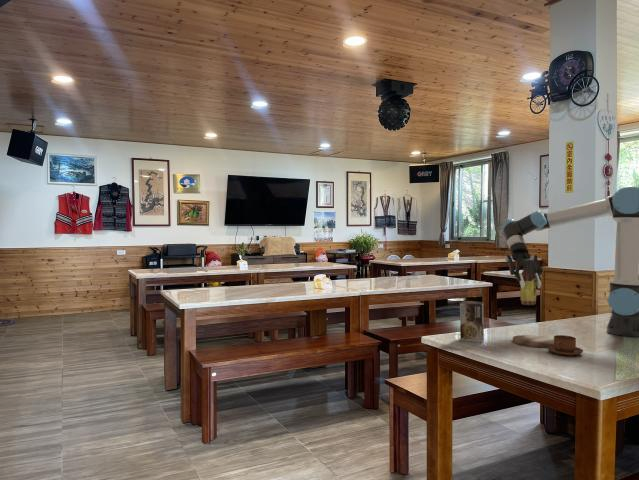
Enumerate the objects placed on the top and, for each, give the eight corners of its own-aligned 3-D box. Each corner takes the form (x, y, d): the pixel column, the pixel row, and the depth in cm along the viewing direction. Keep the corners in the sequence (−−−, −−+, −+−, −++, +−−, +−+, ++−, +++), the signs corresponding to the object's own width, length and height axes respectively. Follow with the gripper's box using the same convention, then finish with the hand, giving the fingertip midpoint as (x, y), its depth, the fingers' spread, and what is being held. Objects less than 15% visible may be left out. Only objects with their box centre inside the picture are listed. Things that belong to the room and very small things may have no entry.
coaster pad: (561, 342, 192) (561, 339, 192) (546, 349, 181) (546, 345, 181) (522, 336, 204) (522, 333, 204) (506, 342, 192) (506, 339, 192)
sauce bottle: (537, 305, 203) (537, 260, 202) (521, 305, 204) (522, 260, 204) (534, 303, 209) (534, 259, 208) (519, 302, 211) (519, 258, 210)
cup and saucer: (582, 359, 167) (582, 342, 167) (545, 355, 174) (545, 338, 174) (583, 352, 178) (583, 336, 177) (548, 348, 184) (548, 332, 184)
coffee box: (484, 339, 198) (484, 301, 198) (482, 343, 192) (482, 303, 192) (461, 338, 202) (461, 300, 201) (459, 341, 196) (459, 302, 196)
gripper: (536, 252, 221) (551, 291, 205) (494, 252, 222) (506, 291, 206) (541, 241, 215) (557, 281, 200) (498, 241, 216) (511, 281, 200)
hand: (531, 286), depth 203 cm, fingers closed on sauce bottle, 6 cm apart
